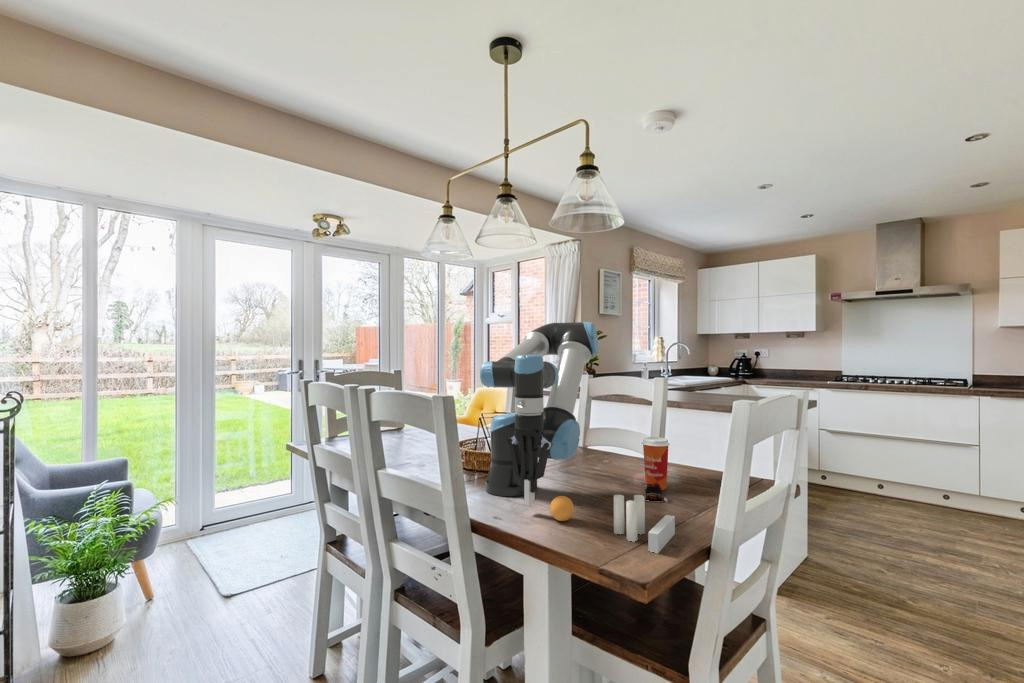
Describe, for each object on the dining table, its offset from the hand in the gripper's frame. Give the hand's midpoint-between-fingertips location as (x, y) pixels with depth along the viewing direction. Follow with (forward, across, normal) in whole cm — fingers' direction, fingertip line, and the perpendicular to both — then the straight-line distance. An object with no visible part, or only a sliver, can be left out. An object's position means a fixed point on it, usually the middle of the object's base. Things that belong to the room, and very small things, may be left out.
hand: (529, 504), depth 125 cm
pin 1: (+3, +28, -2) cm, 29 cm away
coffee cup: (+2, +20, +41) cm, 46 cm away
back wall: (+3, +34, 0) cm, 35 cm away
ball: (0, +10, 0) cm, 10 cm away
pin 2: (+3, +28, +3) cm, 29 cm away
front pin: (+3, +24, 0) cm, 25 cm away
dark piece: (+3, +23, +30) cm, 38 cm away
